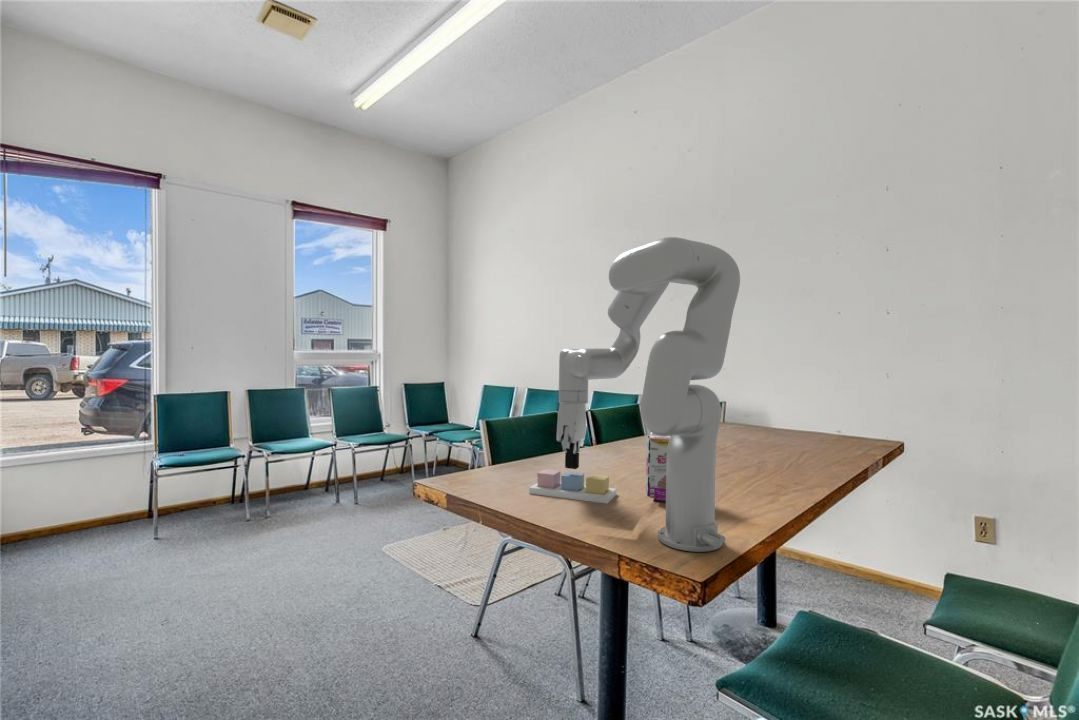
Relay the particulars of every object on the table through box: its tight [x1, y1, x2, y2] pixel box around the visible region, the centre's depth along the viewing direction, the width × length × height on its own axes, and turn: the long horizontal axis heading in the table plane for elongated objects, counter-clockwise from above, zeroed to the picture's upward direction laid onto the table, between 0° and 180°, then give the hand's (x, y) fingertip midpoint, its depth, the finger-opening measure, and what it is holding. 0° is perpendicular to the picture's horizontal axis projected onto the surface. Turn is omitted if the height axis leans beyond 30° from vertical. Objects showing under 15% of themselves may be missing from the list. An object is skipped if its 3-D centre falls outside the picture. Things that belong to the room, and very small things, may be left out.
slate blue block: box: [560, 471, 585, 492], centre depth 131 cm, size 5×5×5 cm
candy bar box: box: [645, 434, 670, 503], centre depth 131 cm, size 11×5×16 cm, turn 84°
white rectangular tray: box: [528, 481, 617, 504], centre depth 131 cm, size 21×8×3 cm, turn 67°
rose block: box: [536, 469, 561, 489], centre depth 134 cm, size 5×5×5 cm
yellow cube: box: [585, 474, 610, 495], centre depth 129 cm, size 5×5×5 cm
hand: (571, 467), depth 131 cm, fingers closed
